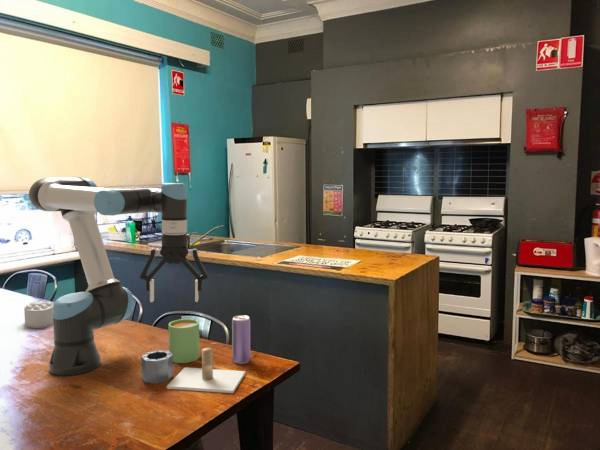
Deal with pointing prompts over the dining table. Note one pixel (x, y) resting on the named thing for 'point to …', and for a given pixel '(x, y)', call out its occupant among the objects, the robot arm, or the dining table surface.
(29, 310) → the lumpy-topped squat cylinder
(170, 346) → the mug
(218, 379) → the base board
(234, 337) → the beverage can
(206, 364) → the post
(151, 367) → the ring
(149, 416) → the dining table surface
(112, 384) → the dining table surface
